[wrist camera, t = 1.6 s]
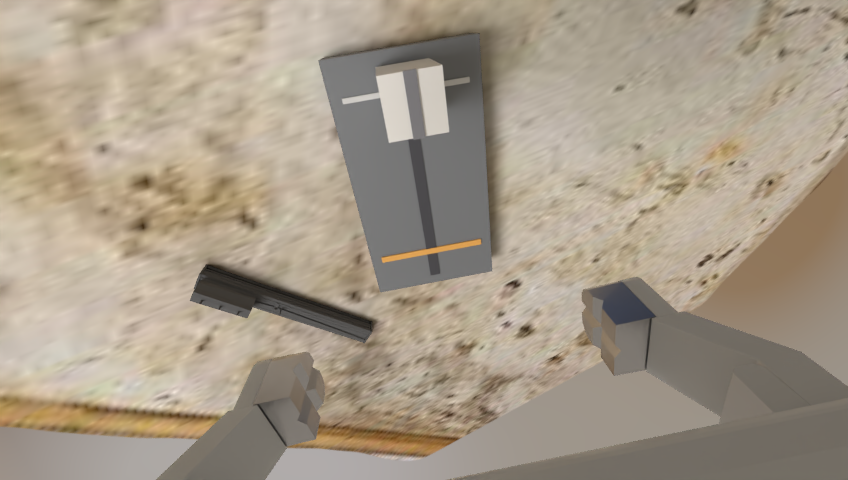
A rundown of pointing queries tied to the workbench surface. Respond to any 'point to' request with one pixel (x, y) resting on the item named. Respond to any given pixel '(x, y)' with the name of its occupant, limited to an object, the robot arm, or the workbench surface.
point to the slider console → (416, 166)
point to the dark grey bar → (272, 303)
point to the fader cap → (413, 99)
